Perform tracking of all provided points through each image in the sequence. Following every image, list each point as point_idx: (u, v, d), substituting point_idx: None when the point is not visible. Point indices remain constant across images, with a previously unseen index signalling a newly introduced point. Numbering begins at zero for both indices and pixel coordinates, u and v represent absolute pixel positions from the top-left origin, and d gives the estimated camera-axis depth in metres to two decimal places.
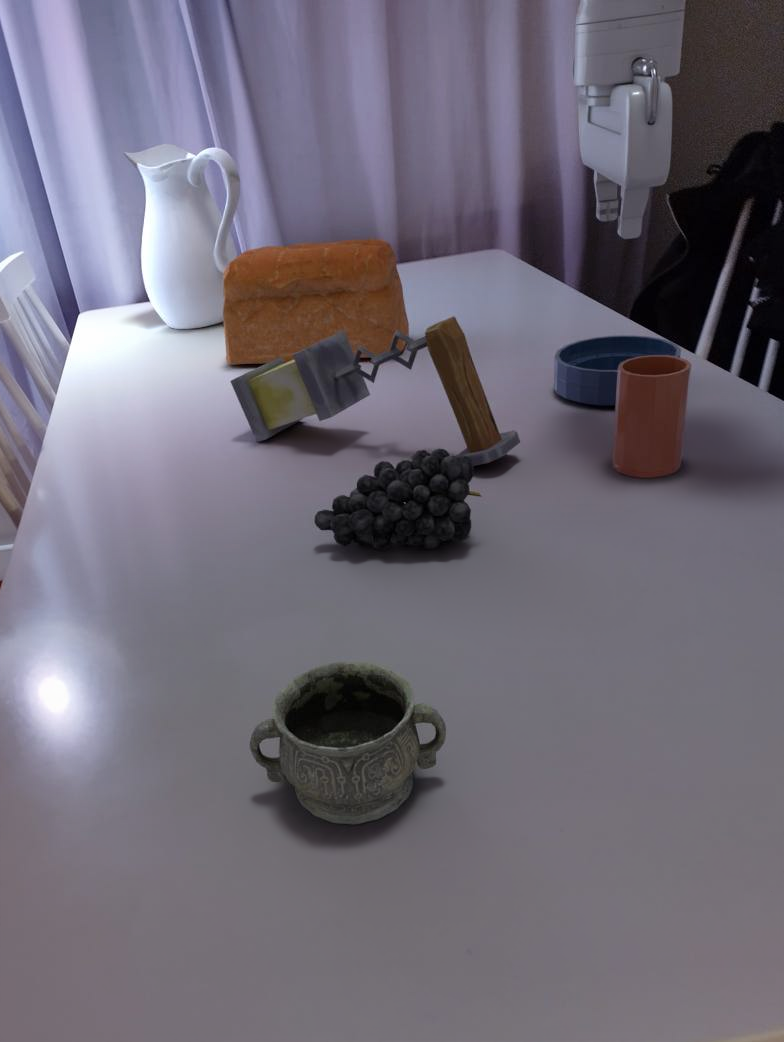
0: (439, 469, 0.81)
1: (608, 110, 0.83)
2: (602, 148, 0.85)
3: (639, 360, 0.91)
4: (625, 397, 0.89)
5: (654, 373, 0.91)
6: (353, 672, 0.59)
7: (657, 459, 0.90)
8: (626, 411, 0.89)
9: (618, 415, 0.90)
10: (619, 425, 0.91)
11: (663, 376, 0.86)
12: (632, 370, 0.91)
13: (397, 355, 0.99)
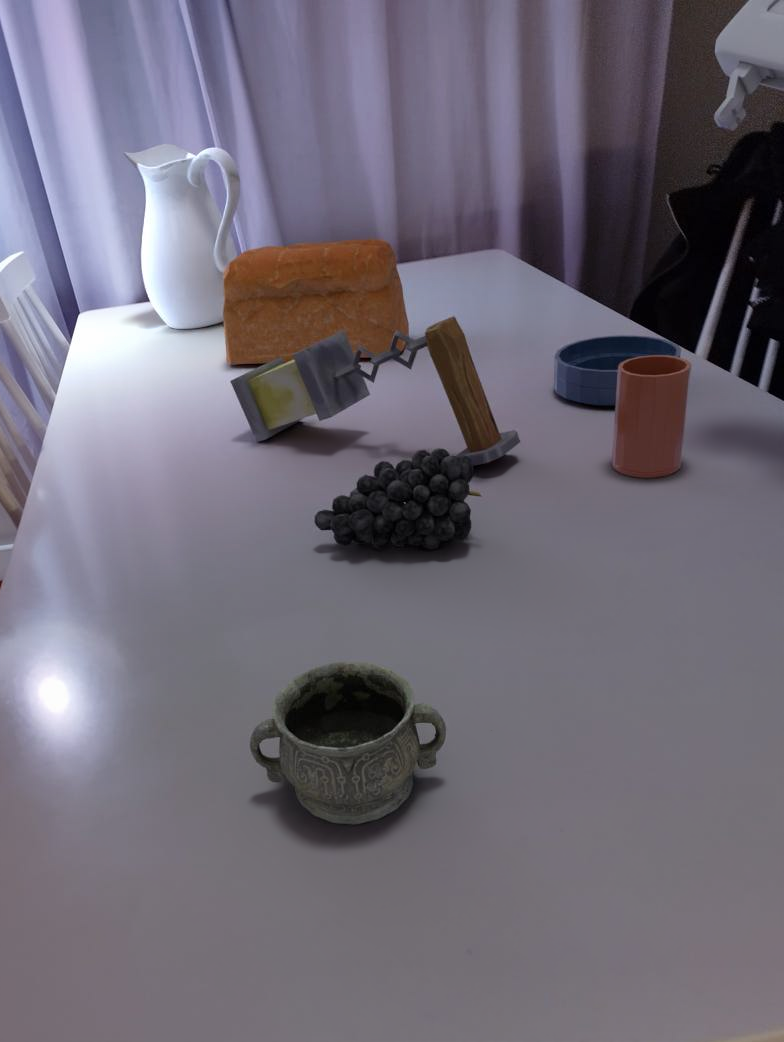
0: (439, 469, 0.81)
1: None
2: None
3: (639, 360, 0.91)
4: (625, 397, 0.89)
5: (654, 373, 0.91)
6: (353, 672, 0.59)
7: (657, 459, 0.90)
8: (626, 411, 0.89)
9: (618, 415, 0.90)
10: (619, 425, 0.91)
11: (663, 376, 0.86)
12: (632, 370, 0.91)
13: (397, 355, 0.99)
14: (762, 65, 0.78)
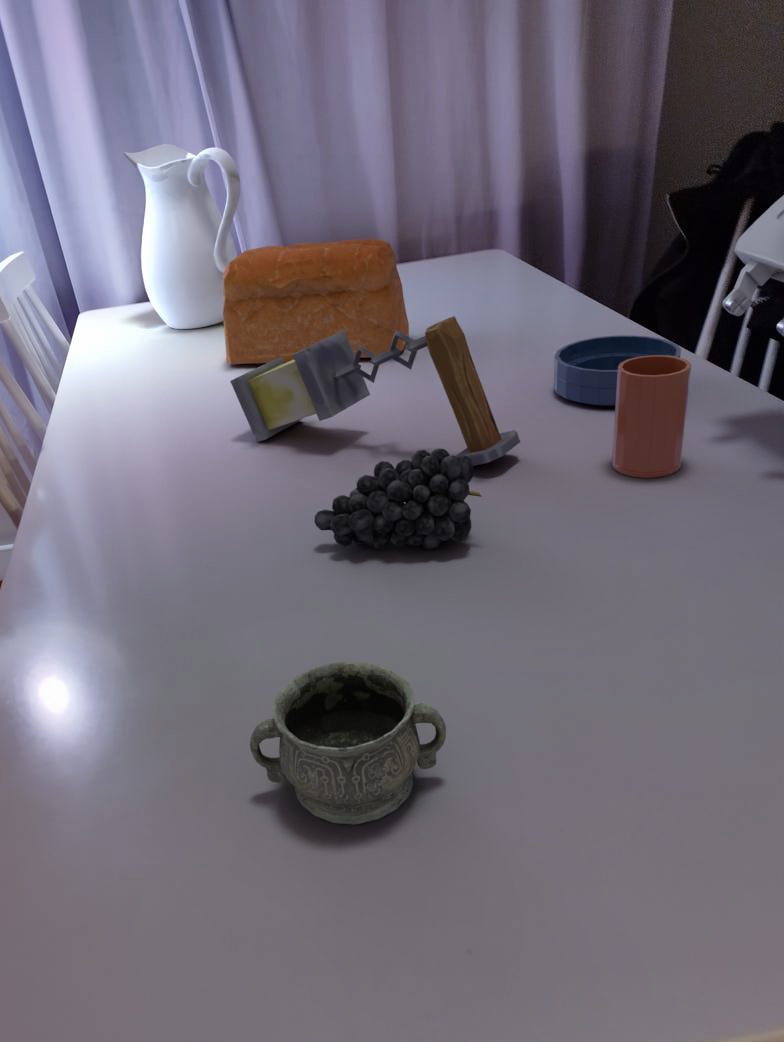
0: (439, 469, 0.81)
1: None
2: None
3: (639, 360, 0.91)
4: (625, 397, 0.89)
5: (654, 373, 0.91)
6: (354, 672, 0.59)
7: (657, 459, 0.90)
8: (626, 411, 0.89)
9: (618, 415, 0.90)
10: (619, 425, 0.91)
11: (663, 376, 0.86)
12: (632, 370, 0.91)
13: (397, 355, 0.99)
14: (763, 262, 0.88)
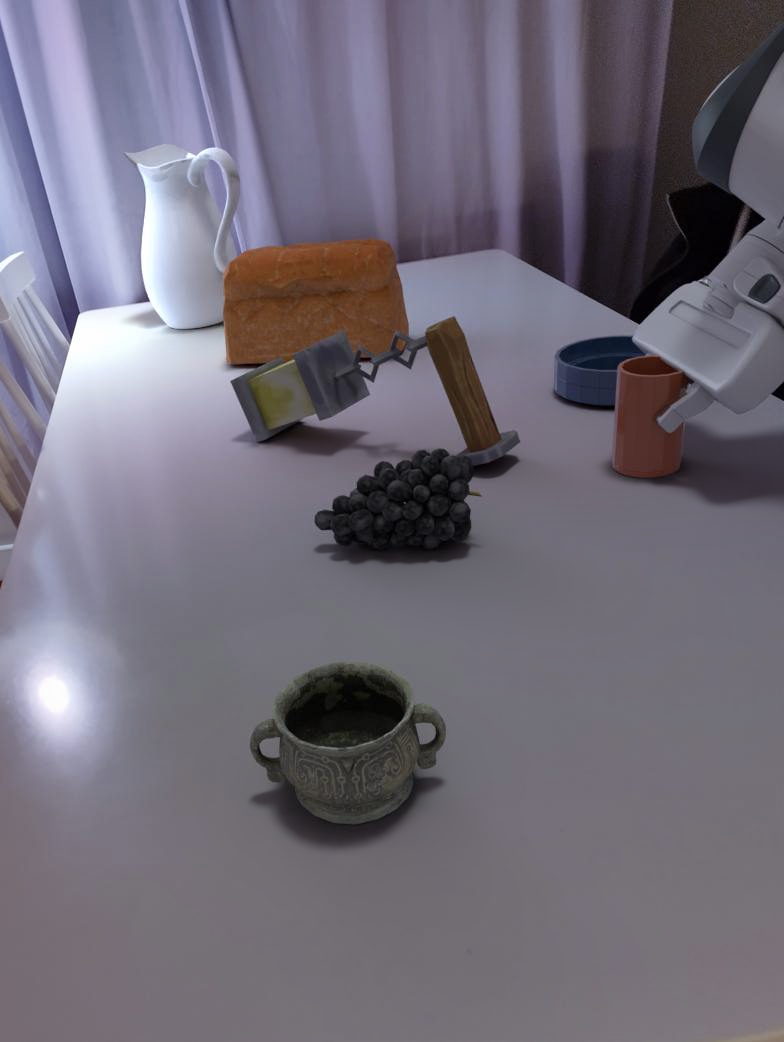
0: (439, 469, 0.81)
1: None
2: None
3: (639, 360, 0.91)
4: (625, 397, 0.89)
5: (654, 373, 0.91)
6: (353, 672, 0.59)
7: (656, 459, 0.90)
8: (626, 411, 0.89)
9: (618, 415, 0.90)
10: (619, 425, 0.91)
11: (663, 376, 0.86)
12: (632, 370, 0.91)
13: (397, 355, 0.99)
14: None
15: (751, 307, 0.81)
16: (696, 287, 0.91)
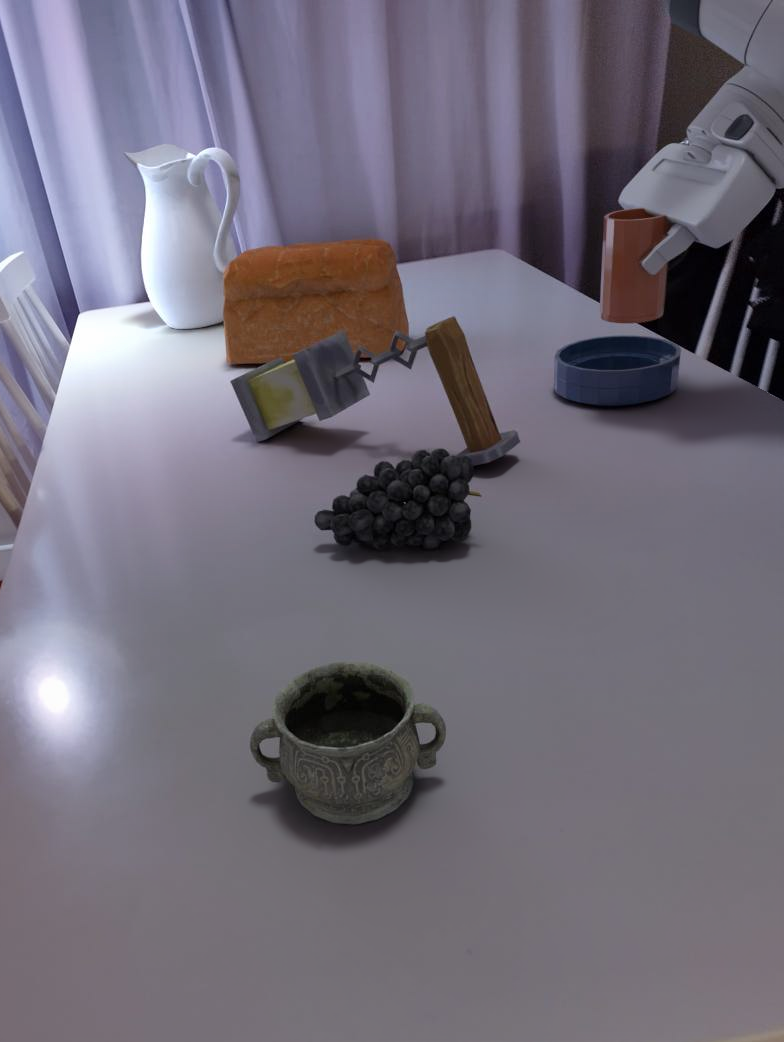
0: (439, 469, 0.81)
1: None
2: None
3: (624, 212, 0.97)
4: (611, 244, 0.95)
5: None
6: (353, 672, 0.59)
7: (641, 304, 0.96)
8: (612, 258, 0.95)
9: (605, 263, 0.97)
10: (606, 273, 0.97)
11: (646, 219, 0.92)
12: None
13: (397, 355, 0.99)
14: None
15: (727, 146, 0.87)
16: (677, 145, 0.97)
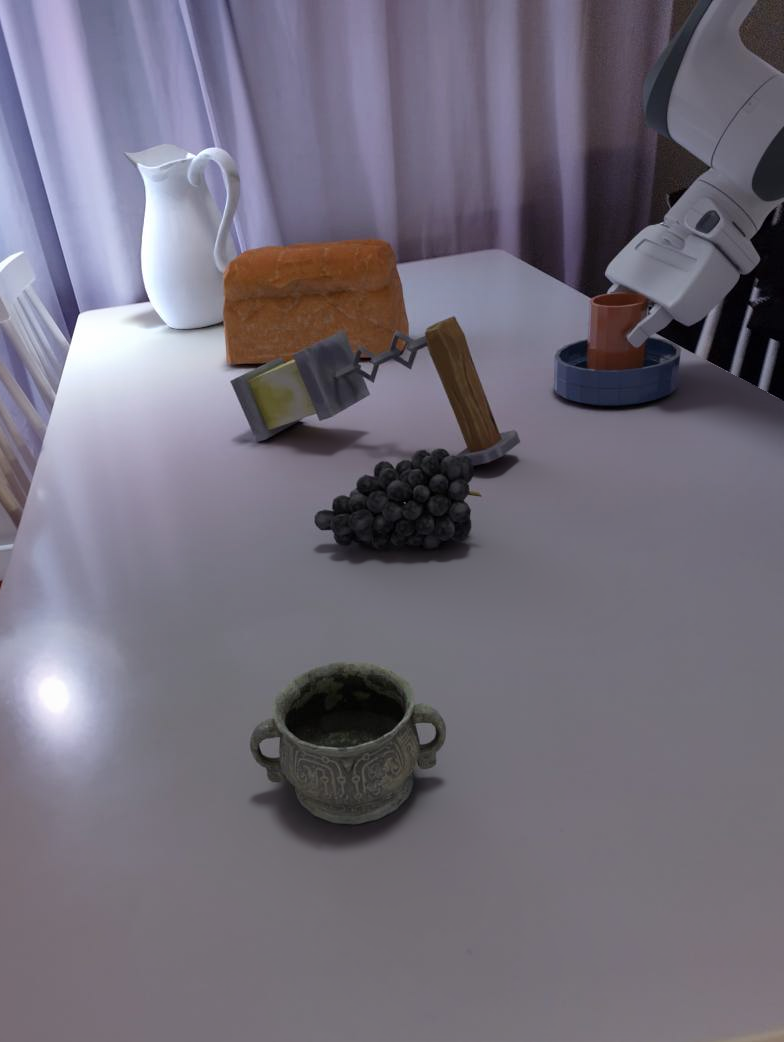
0: (439, 469, 0.81)
1: None
2: None
3: (607, 296, 1.10)
4: (595, 325, 1.07)
5: None
6: (354, 672, 0.59)
7: None
8: (596, 337, 1.08)
9: (590, 342, 1.09)
10: (591, 350, 1.09)
11: (625, 306, 1.04)
12: (601, 305, 1.10)
13: (397, 355, 0.99)
14: (621, 284, 1.10)
15: (697, 238, 0.99)
16: (657, 227, 1.10)
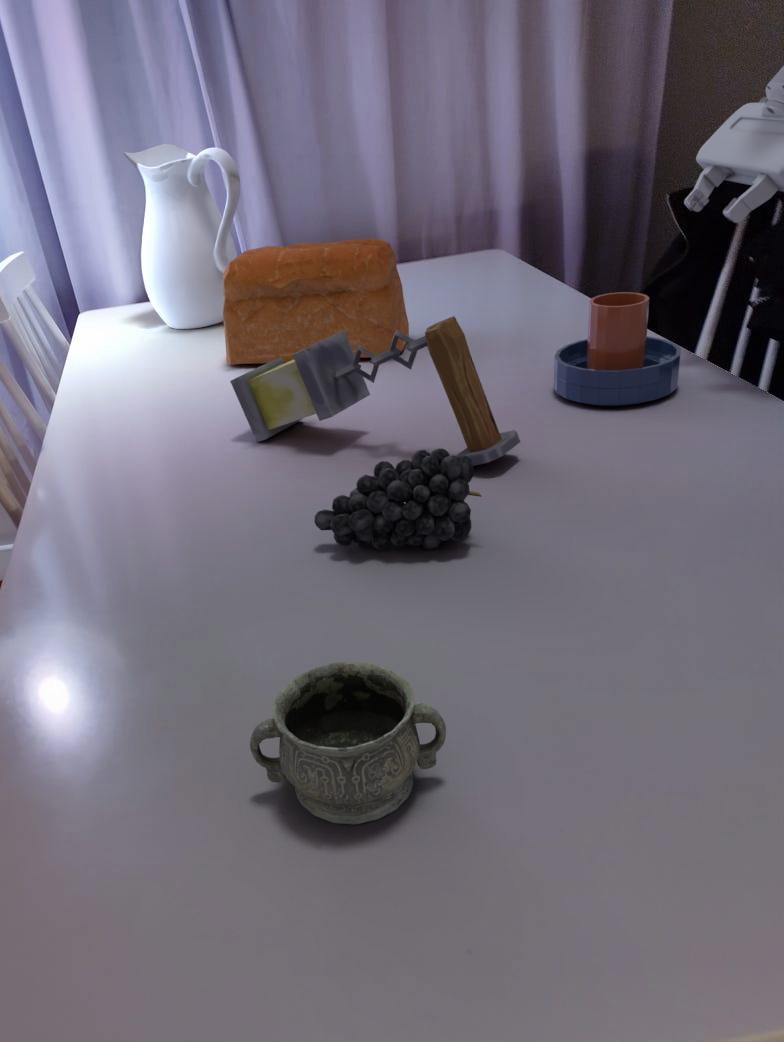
0: (439, 469, 0.81)
1: None
2: None
3: (607, 296, 1.10)
4: (595, 325, 1.07)
5: None
6: (354, 672, 0.59)
7: None
8: (596, 337, 1.08)
9: (590, 342, 1.09)
10: (591, 350, 1.09)
11: (625, 306, 1.04)
12: (601, 305, 1.10)
13: (397, 355, 0.99)
14: (717, 164, 1.05)
15: None
16: (755, 103, 1.04)
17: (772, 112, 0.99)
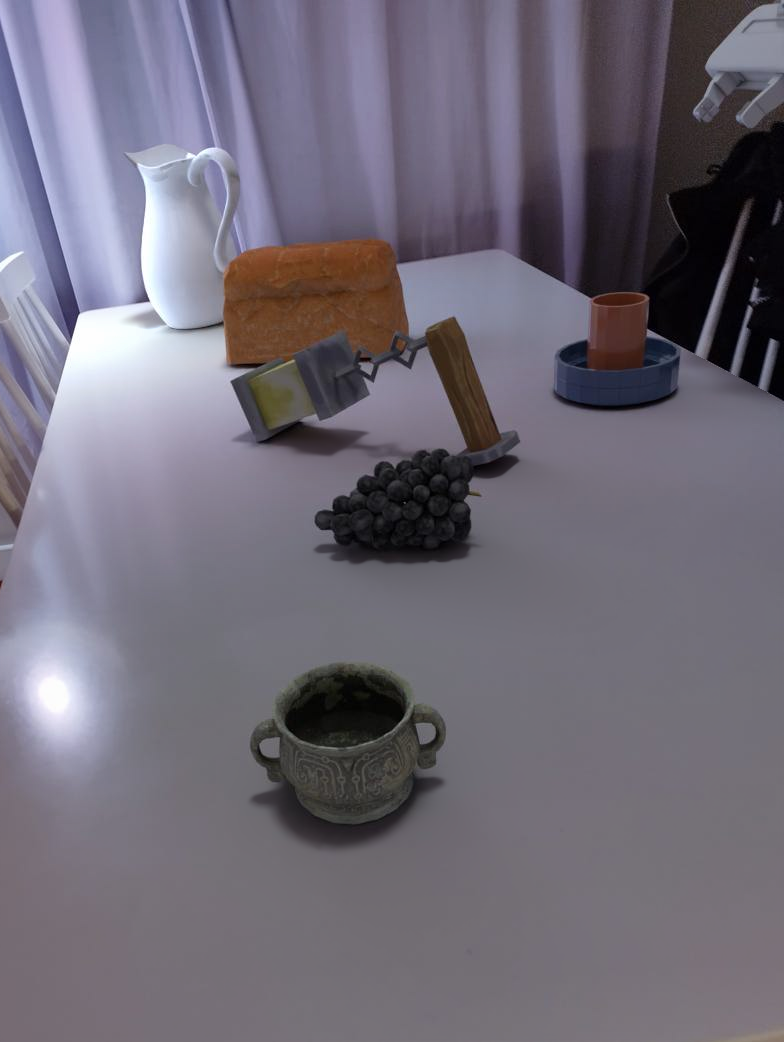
0: (439, 469, 0.81)
1: None
2: None
3: (607, 296, 1.10)
4: (595, 325, 1.07)
5: None
6: (353, 672, 0.59)
7: None
8: (596, 337, 1.08)
9: (590, 342, 1.09)
10: (591, 350, 1.09)
11: (625, 306, 1.04)
12: (601, 305, 1.10)
13: (397, 355, 0.99)
14: (728, 70, 0.99)
15: None
16: (768, 5, 0.98)
17: None
